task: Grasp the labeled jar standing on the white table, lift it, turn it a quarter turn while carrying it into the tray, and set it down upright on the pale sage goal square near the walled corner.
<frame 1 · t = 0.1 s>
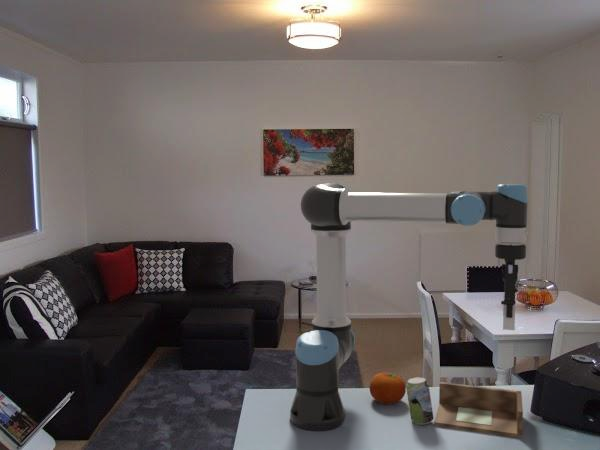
hand: (508, 322, 148), 28 cm above the counter, fingers open, 13 cm apart
labeled jar: (419, 422, 153), on the counter
fruit: (387, 401, 167), on the counter
tray: (478, 420, 153), on the counter
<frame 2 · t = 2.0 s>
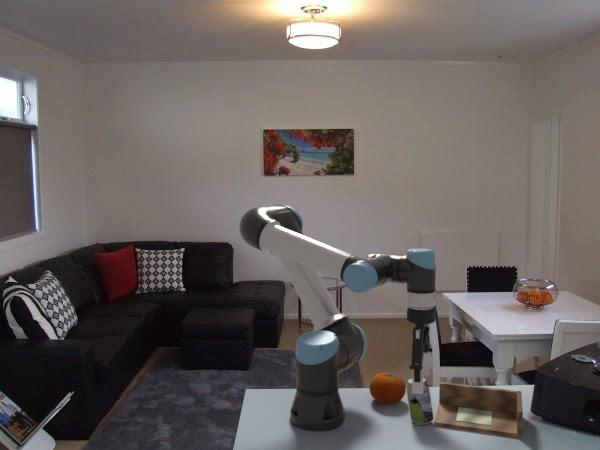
hand: (421, 384, 151), 11 cm above the counter, fingers open, 13 cm apart
nothing on the counter moved.
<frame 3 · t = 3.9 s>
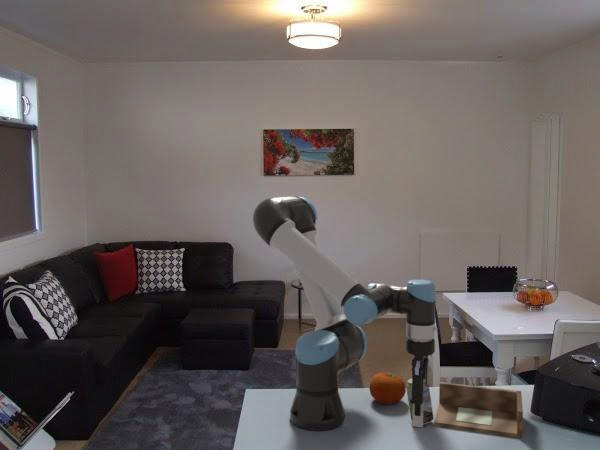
hand: (419, 420, 152), 0 cm above the counter, fingers closed on labeled jar, 6 cm apart
labeled jar: (419, 422, 153), on the counter, touching gripper
everything else where it was.
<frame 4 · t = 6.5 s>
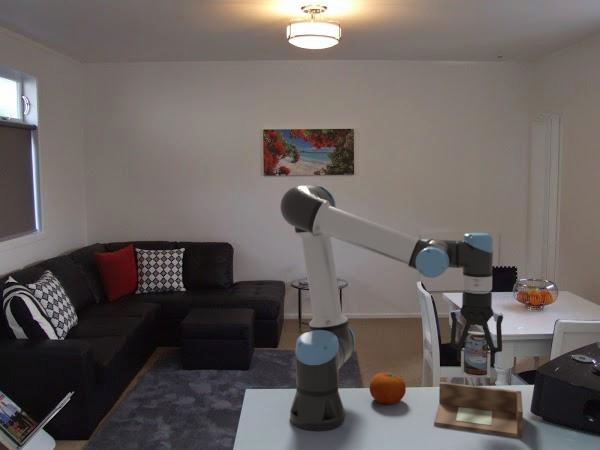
hand: (475, 374, 152), 13 cm above the counter, fingers closed on labeled jar, 6 cm apart
labeled jar: (475, 376, 152), point 12 cm above the counter, touching gripper
everything else where it was.
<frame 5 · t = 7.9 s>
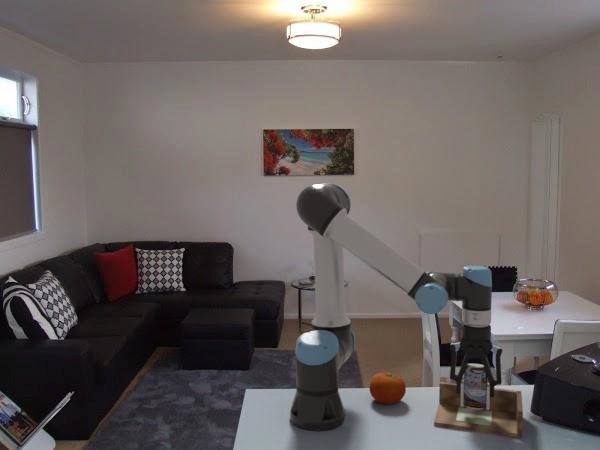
hand: (474, 406, 153), 4 cm above the counter, fingers closed on labeled jar, 6 cm apart
labeled jar: (475, 408, 153), point 3 cm above the counter, touching gripper
everything else where it was.
when the fingers open (2 cm above the counter, at t = 9.0 s): labeled jar stays where it is, resting on tray.
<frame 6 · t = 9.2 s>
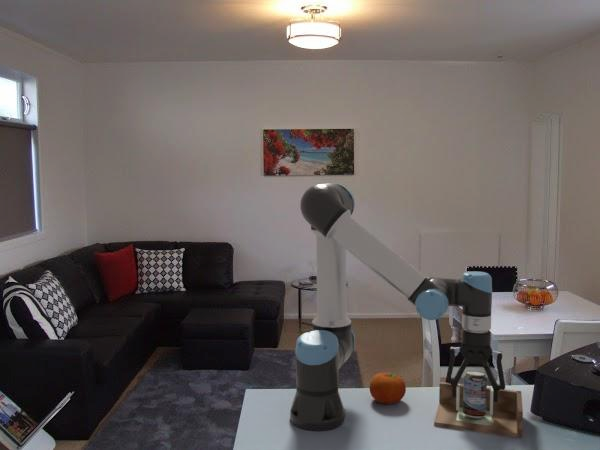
hand: (474, 410, 153), 3 cm above the counter, fingers open, 8 cm apart
labeled jar: (474, 416, 153), point 1 cm above the counter, touching tray
everything else where it was.
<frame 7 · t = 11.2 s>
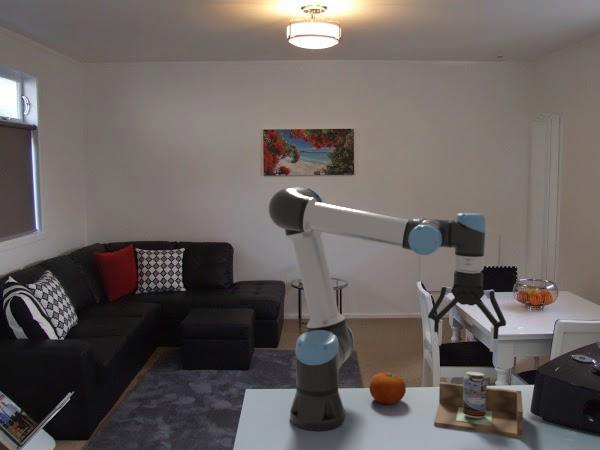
hand: (465, 347, 153), 20 cm above the counter, fingers open, 13 cm apart
nothing on the counter moved.
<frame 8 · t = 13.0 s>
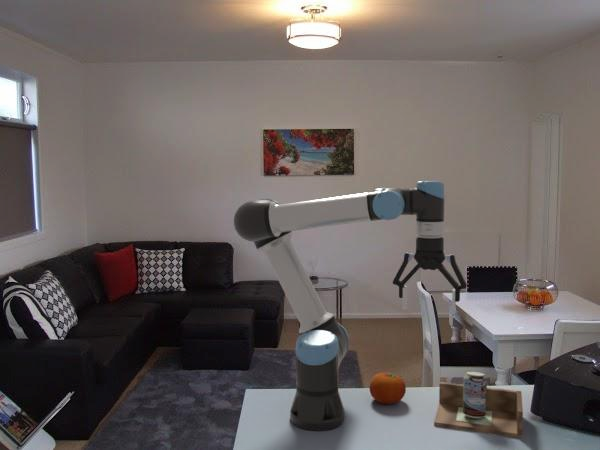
hand: (428, 311, 158), 29 cm above the counter, fingers open, 13 cm apart
nothing on the counter moved.
at the end: labeled jar inside the target area (0.1 cm from its centre), point 1.0 cm above the counter; labeled jar tilted 0°; the gripper is holding nothing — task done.
